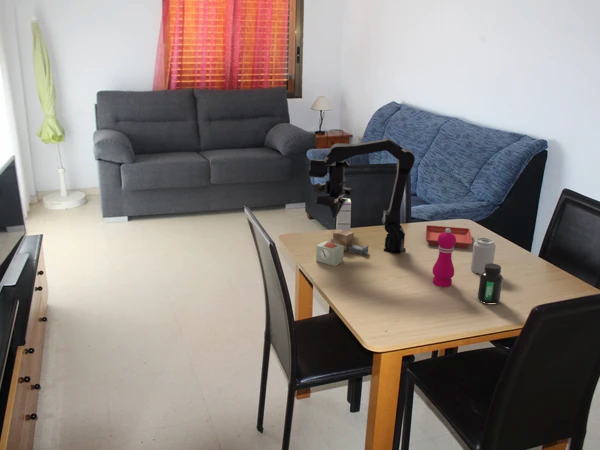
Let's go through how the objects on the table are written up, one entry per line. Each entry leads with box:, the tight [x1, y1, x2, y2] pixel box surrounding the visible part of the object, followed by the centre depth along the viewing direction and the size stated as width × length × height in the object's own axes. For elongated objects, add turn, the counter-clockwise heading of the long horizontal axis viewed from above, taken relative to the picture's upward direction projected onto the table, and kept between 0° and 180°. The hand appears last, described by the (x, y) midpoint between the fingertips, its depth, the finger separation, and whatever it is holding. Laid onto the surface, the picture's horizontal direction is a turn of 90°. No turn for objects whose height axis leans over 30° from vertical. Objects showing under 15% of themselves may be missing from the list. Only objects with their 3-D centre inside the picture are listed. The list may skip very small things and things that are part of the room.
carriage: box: [332, 229, 354, 252], centre depth 231 cm, size 6×5×6 cm
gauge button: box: [326, 241, 335, 248], centre depth 218 cm, size 3×3×4 cm
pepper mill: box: [431, 228, 456, 288], centre depth 200 cm, size 7×7×20 cm
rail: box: [330, 237, 369, 257], centre depth 230 cm, size 15×3×3 cm, turn 55°
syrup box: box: [335, 197, 352, 232], centre depth 246 cm, size 6×6×14 cm
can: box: [470, 237, 496, 275], centre depth 212 cm, size 8×8×12 cm
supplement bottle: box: [477, 262, 504, 304], centre depth 190 cm, size 7×7×12 cm
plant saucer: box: [424, 225, 473, 249], centre depth 243 cm, size 18×18×3 cm
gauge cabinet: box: [315, 240, 345, 267], centre depth 218 cm, size 8×6×6 cm
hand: (334, 217), depth 228 cm, fingers closed
